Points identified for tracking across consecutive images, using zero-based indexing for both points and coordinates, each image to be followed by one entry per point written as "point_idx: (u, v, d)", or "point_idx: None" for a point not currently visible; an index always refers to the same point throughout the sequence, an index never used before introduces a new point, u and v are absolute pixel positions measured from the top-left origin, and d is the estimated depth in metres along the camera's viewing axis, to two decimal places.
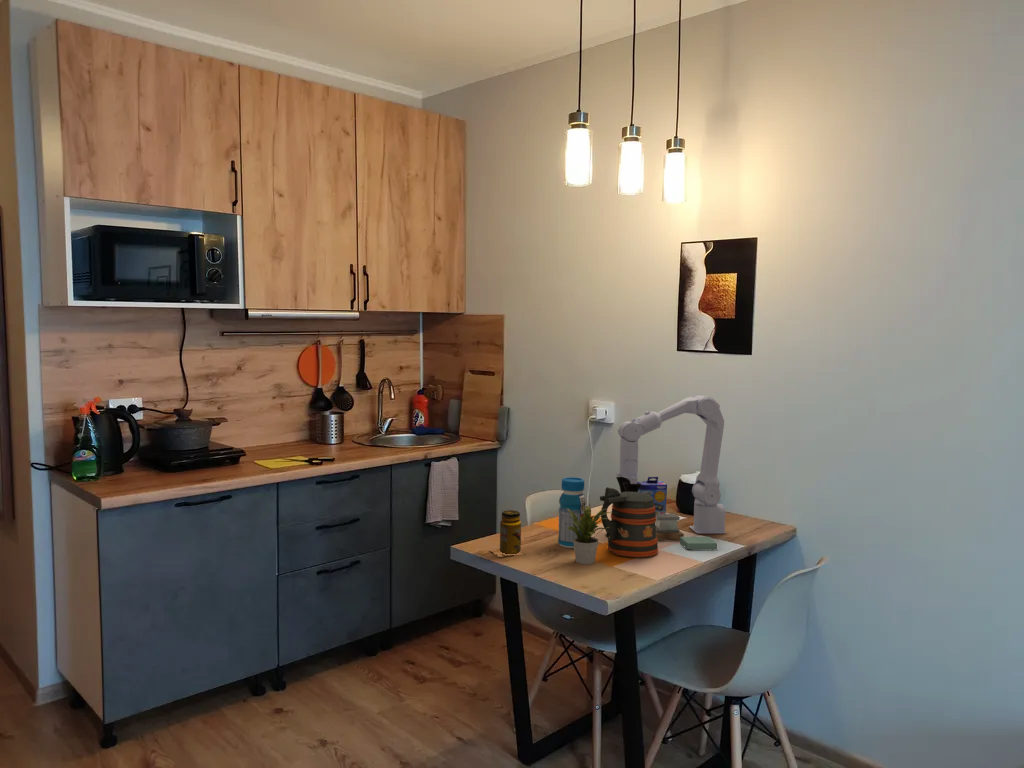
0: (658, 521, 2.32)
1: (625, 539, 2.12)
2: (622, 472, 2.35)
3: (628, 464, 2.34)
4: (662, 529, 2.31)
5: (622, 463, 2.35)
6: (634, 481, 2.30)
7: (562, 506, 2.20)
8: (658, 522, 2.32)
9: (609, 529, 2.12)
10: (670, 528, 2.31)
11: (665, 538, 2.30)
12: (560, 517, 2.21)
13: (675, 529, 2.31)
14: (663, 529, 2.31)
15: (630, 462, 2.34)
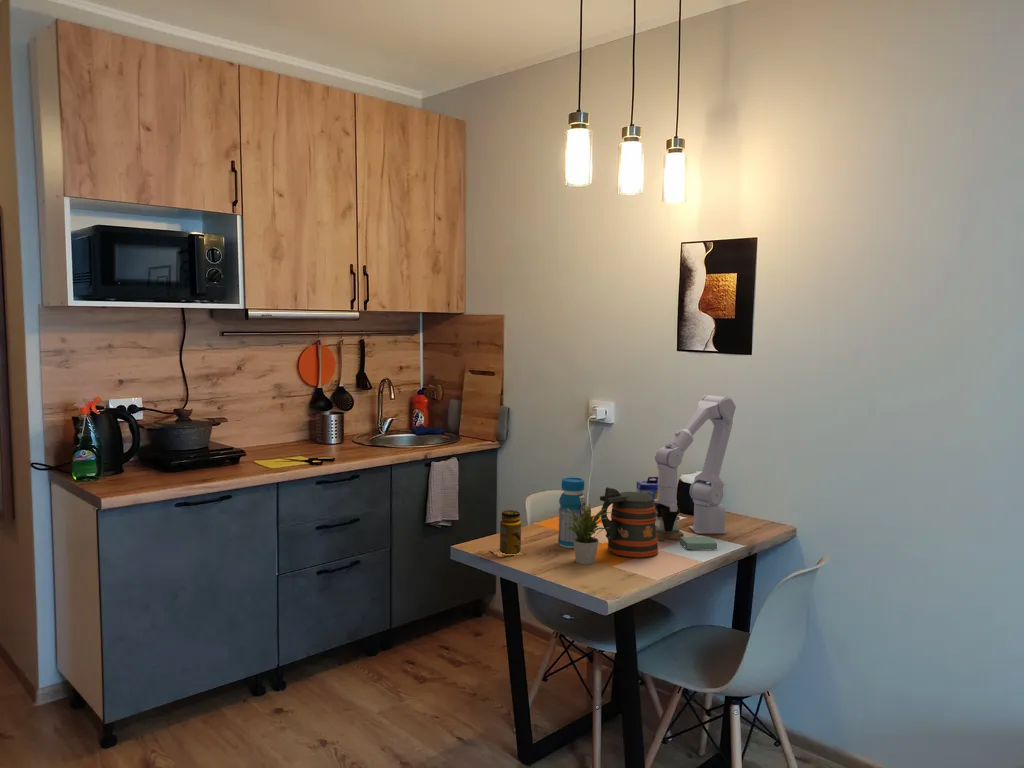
0: (658, 521, 2.32)
1: (625, 539, 2.12)
2: (661, 499, 2.30)
3: (667, 491, 2.29)
4: (662, 529, 2.31)
5: (661, 490, 2.30)
6: (674, 509, 2.25)
7: (562, 506, 2.20)
8: (658, 522, 2.32)
9: (609, 529, 2.12)
10: None
11: (665, 538, 2.30)
12: (560, 517, 2.21)
13: (675, 529, 2.31)
14: (663, 529, 2.31)
15: (669, 489, 2.29)
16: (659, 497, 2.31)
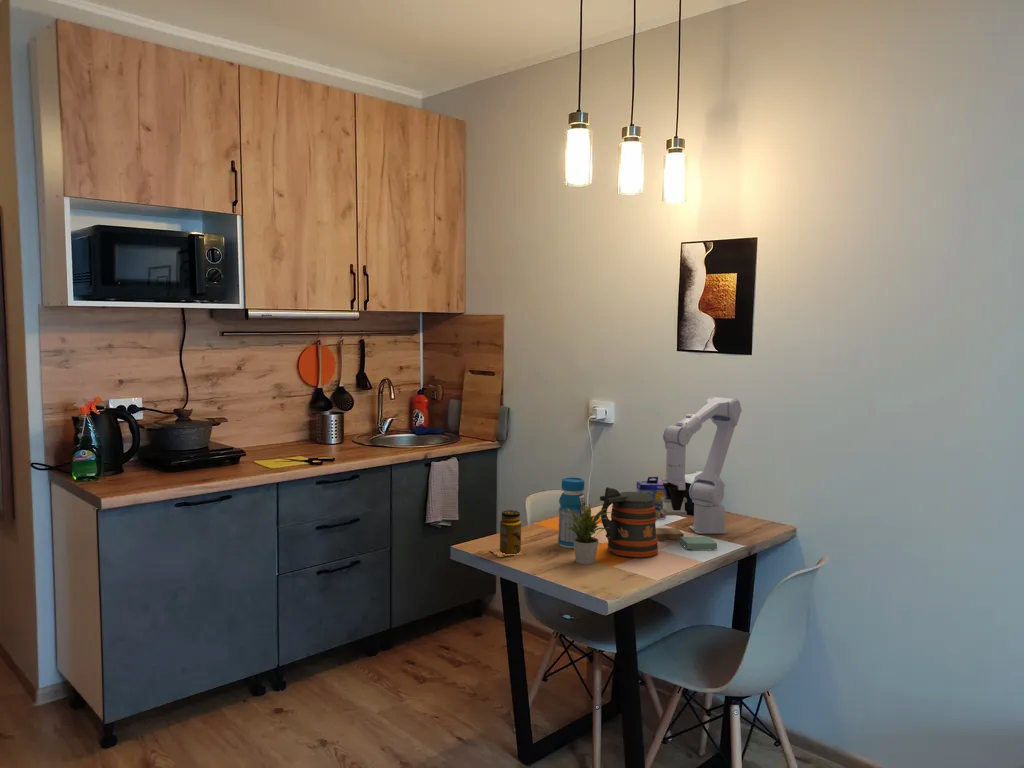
0: (665, 503, 2.29)
1: (625, 539, 2.12)
2: (669, 478, 2.28)
3: (675, 469, 2.26)
4: (669, 511, 2.28)
5: (669, 468, 2.28)
6: (682, 487, 2.22)
7: (562, 506, 2.20)
8: (665, 504, 2.29)
9: (609, 529, 2.12)
10: (677, 510, 2.28)
11: (665, 538, 2.30)
12: (560, 517, 2.21)
13: (683, 511, 2.28)
14: (670, 512, 2.28)
15: (677, 467, 2.26)
16: (667, 476, 2.28)
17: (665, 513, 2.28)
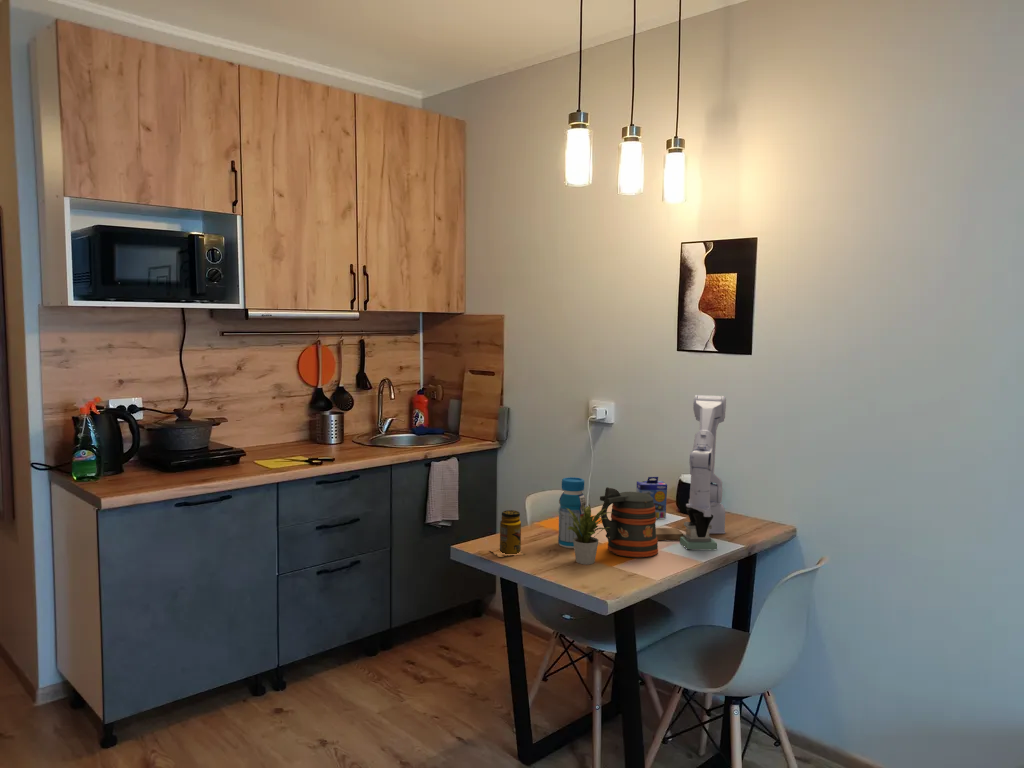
0: (689, 530, 2.22)
1: (625, 539, 2.12)
2: (693, 503, 2.21)
3: (700, 495, 2.20)
4: (693, 538, 2.21)
5: (693, 494, 2.21)
6: (708, 514, 2.16)
7: (562, 506, 2.20)
8: (689, 531, 2.22)
9: (609, 529, 2.12)
10: (702, 537, 2.21)
11: (665, 538, 2.30)
12: (560, 517, 2.21)
13: (707, 538, 2.22)
14: (694, 538, 2.21)
15: (702, 493, 2.20)
16: (692, 501, 2.22)
17: (689, 540, 2.21)
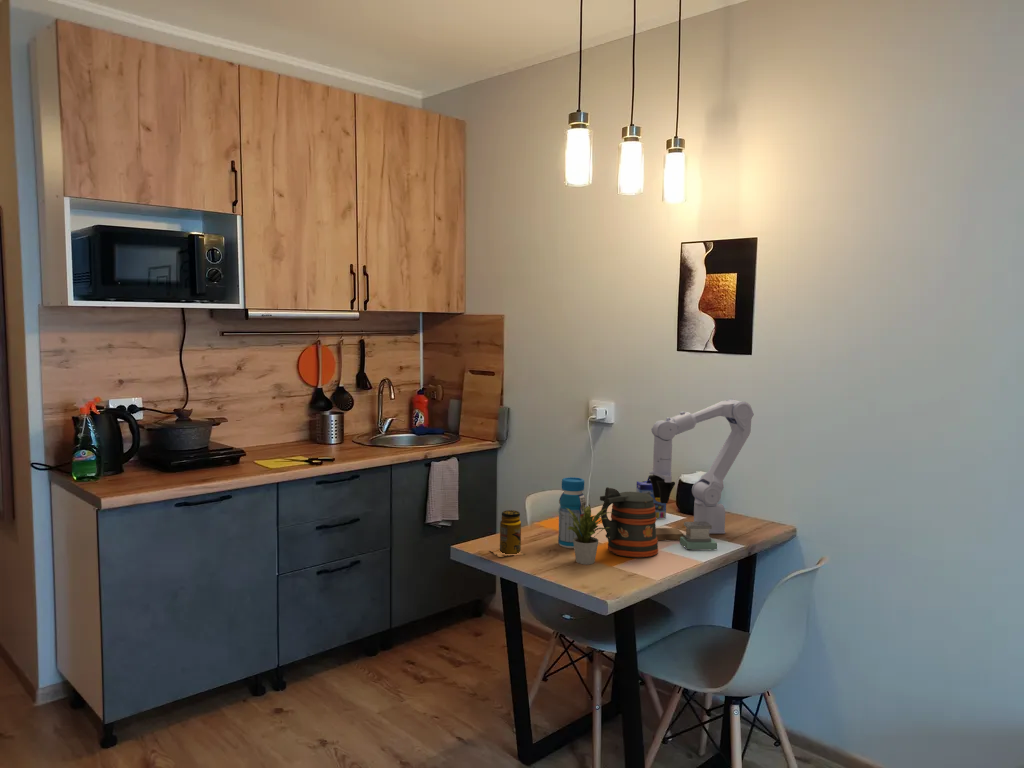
0: (689, 530, 2.22)
1: (625, 539, 2.12)
2: (656, 471, 2.36)
3: (662, 463, 2.35)
4: (693, 538, 2.21)
5: (656, 462, 2.36)
6: (668, 480, 2.30)
7: (562, 506, 2.20)
8: (689, 531, 2.22)
9: (609, 529, 2.12)
10: (702, 537, 2.21)
11: (665, 538, 2.30)
12: (560, 517, 2.21)
13: (707, 538, 2.22)
14: (694, 538, 2.21)
15: (664, 461, 2.34)
16: (654, 469, 2.36)
17: (689, 540, 2.21)
